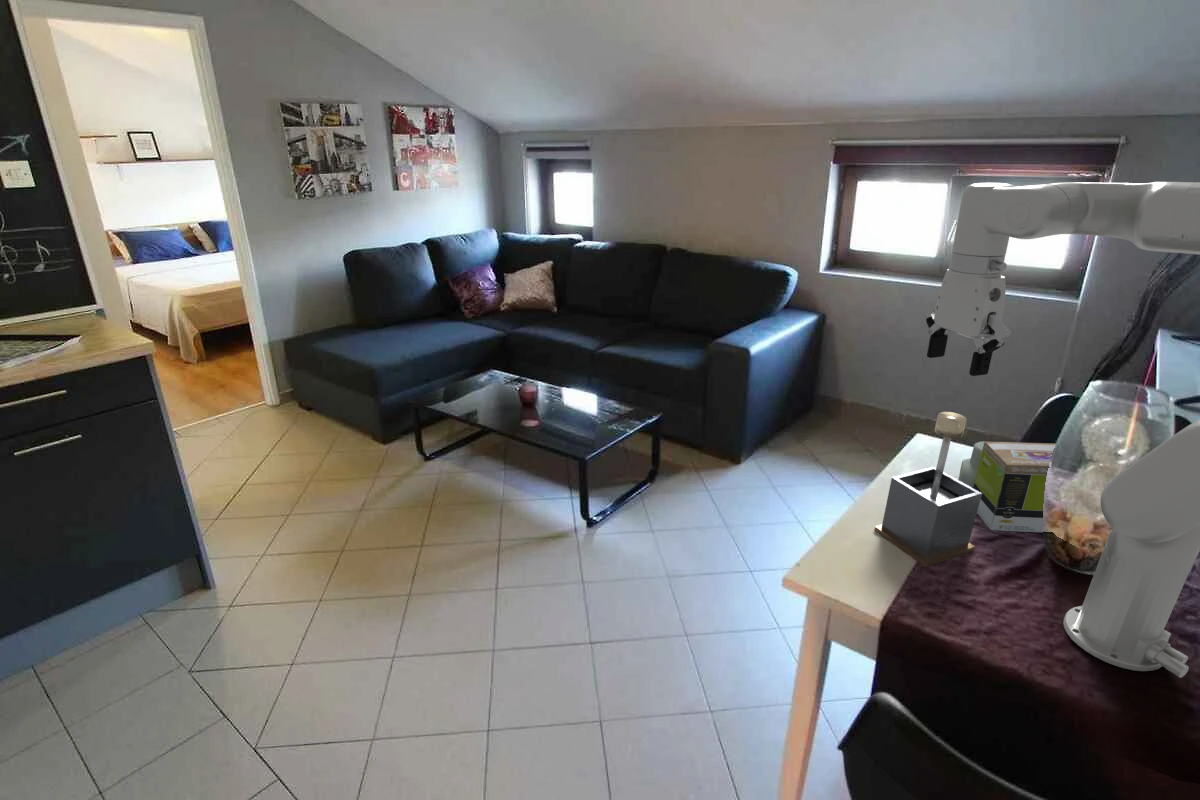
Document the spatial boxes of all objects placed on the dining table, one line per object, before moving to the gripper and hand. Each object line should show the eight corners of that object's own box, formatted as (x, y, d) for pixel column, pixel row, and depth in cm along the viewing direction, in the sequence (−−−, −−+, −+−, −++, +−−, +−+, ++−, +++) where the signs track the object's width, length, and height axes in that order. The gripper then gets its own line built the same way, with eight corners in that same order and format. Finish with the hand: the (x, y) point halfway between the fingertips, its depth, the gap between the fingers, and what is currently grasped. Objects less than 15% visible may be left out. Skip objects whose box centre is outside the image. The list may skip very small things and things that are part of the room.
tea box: (1044, 507, 132) (1065, 442, 126) (1072, 536, 123) (1096, 468, 117) (967, 503, 134) (984, 438, 128) (988, 531, 125) (1008, 463, 119)
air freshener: (1001, 506, 133) (1013, 463, 129) (956, 495, 136) (966, 453, 132) (1001, 482, 141) (1013, 441, 137) (958, 473, 145) (968, 432, 141)
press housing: (973, 550, 119) (989, 494, 114) (925, 567, 115) (939, 509, 110) (920, 516, 129) (933, 463, 124) (874, 530, 125) (885, 476, 120)
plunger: (967, 507, 117) (989, 422, 110) (934, 517, 114) (955, 430, 107) (930, 486, 123) (949, 404, 117) (898, 495, 120) (916, 412, 114)
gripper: (1041, 272, 97) (1016, 380, 104) (955, 254, 113) (937, 348, 119) (1000, 276, 96) (977, 385, 102) (918, 257, 111) (902, 352, 118)
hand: (955, 365), depth 111 cm, fingers open, 9 cm apart
